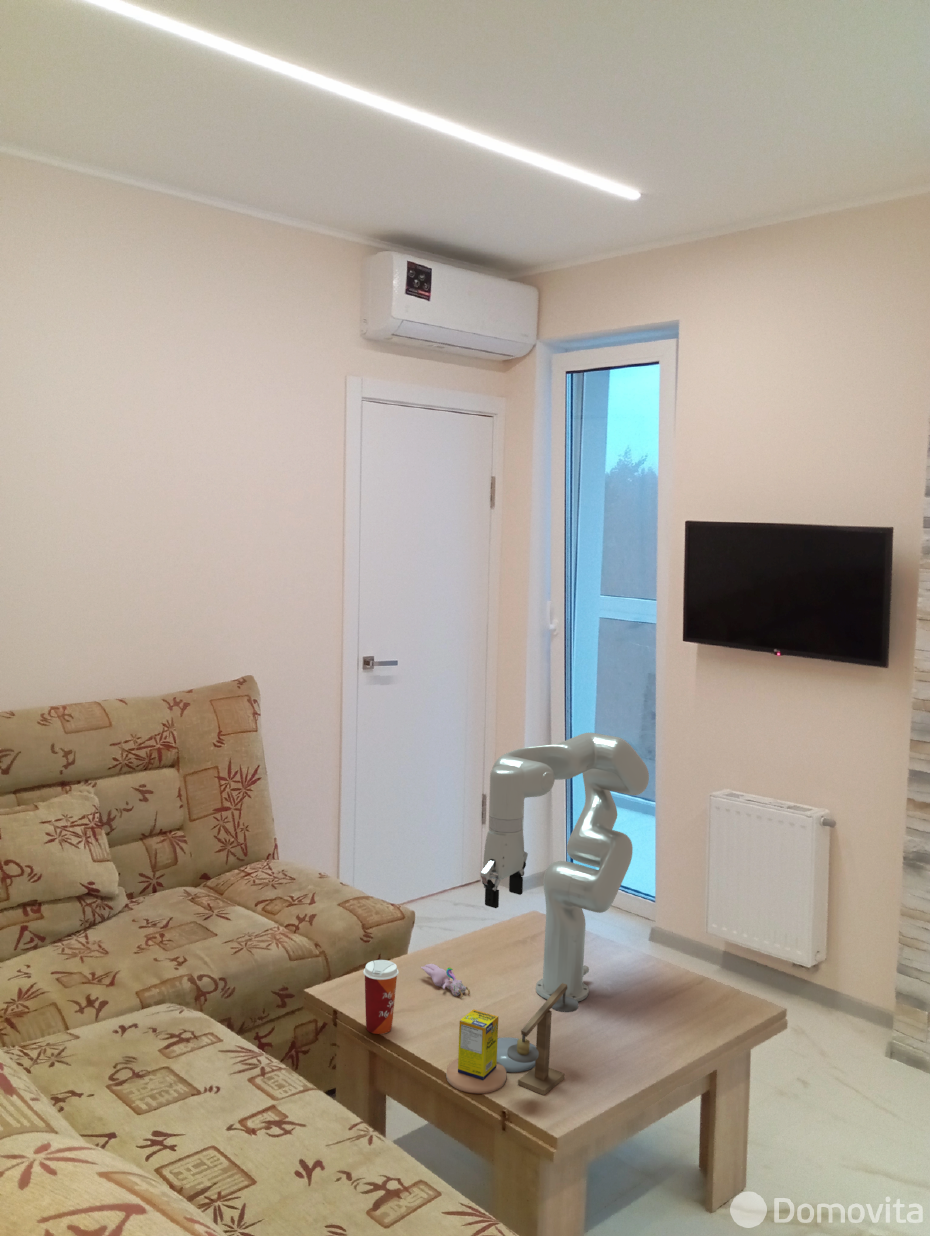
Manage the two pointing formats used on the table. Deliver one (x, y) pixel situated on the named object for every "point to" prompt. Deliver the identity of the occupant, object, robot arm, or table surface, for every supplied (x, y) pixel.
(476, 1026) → the supplement box
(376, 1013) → the paper cup
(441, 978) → the lilac plush figure
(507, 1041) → the blue-grey flat disc
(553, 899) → the robot arm
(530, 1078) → the balance
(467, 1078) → the peach flat disc
